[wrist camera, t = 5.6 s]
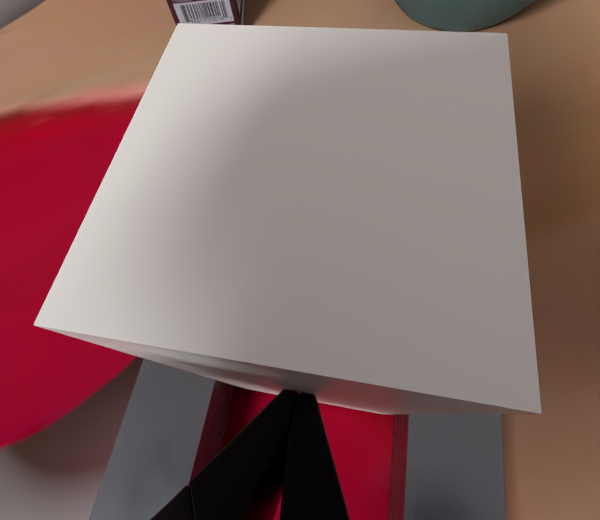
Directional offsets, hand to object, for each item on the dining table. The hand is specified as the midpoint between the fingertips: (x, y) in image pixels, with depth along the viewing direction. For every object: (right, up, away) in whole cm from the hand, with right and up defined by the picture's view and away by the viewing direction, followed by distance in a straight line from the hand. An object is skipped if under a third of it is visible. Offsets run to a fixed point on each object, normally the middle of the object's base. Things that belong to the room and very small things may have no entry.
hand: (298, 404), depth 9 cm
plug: (+1, 0, +7) cm, 7 cm away
